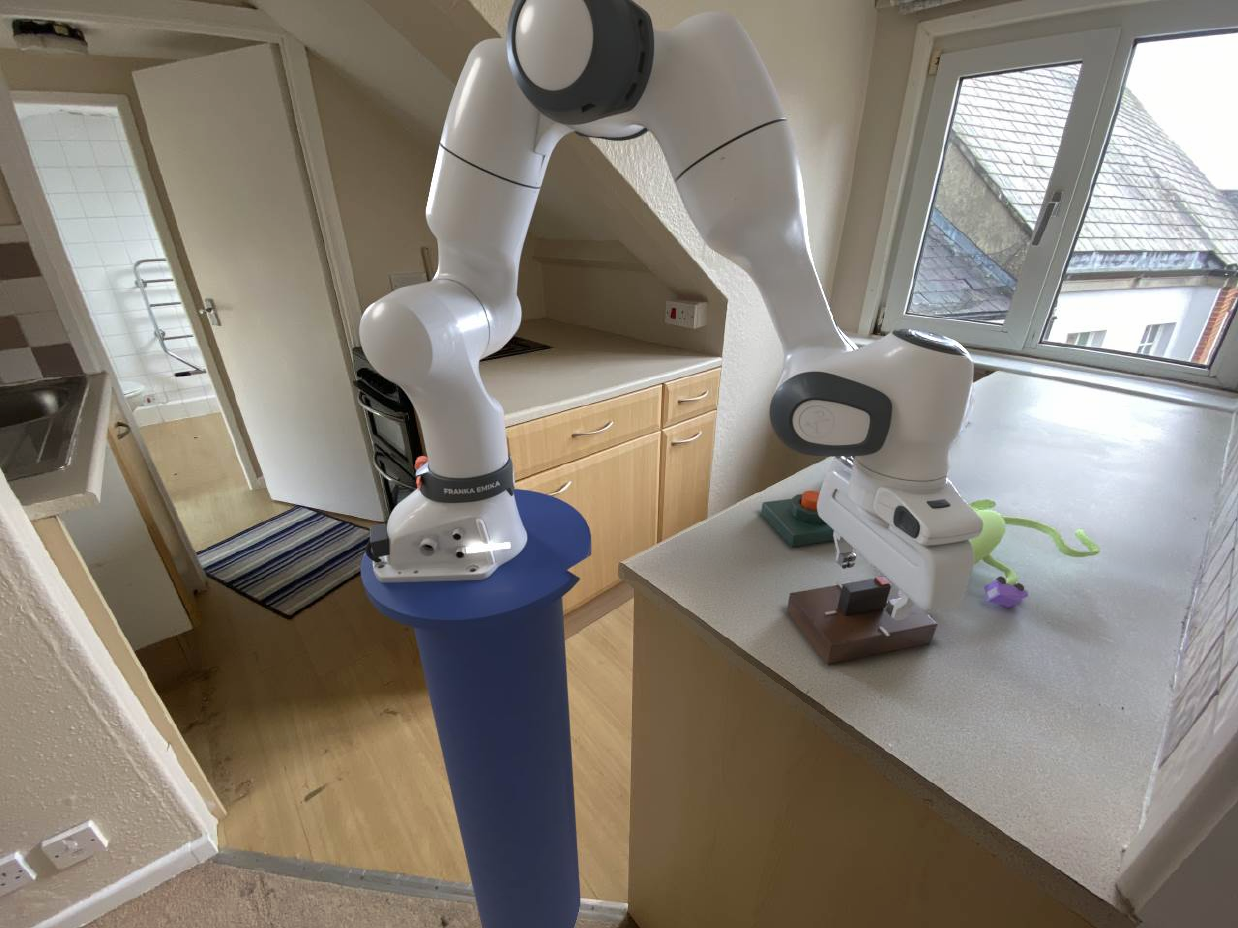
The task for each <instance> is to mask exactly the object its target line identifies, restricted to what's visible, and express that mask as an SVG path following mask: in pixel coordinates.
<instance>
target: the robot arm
mask: <svg viewBox="0 0 1238 928" xmlns="http://www.w3.org/2000/svg"><path fill="white" fill-rule="evenodd" d="M783 107H784V106H783V104H782V101H781V100H780V97H779V94H778V92H777V90H776V87H775V85H774V82H773V80H772V78H771V76H770V73H769V71H768V69H767V67H766V65H765V63H764V61H763V58H762V57H761V55H760V53H759V52H758V49H757V48H756V46H755V44H754V42H753V41H752V39H751V37H750V36H749V34H748V32H747V30H746V28H745V27H744V26H743V23H741V21H740V20H738V19H737V18H736V17H735V16H733V15H732V14H730V13H728V12H724V11H719V10H712V11H705V12H700V13H697V14H695V15H692V16H690V17H687V18H686V19H684V20H683V21H680V22H679V23H678V24H676V25H675V26H674V27H672V28H670V29H667V30H659V29H656V28H654V25H653V20H652V18H651V16H650V14H649V12H648V11H647V10H646V9H644V8H643V7H642V6H641V5H639V4H638V3H636V2H635V1H634V0H514V1H513V3H512V6H511V9H510V13H509V16H508V20H507V28H506V38H504V37H493V38H487V39H484V40H482V41H480V42H478V43H477V44H476V45H475V46H474V47H473V48H471V50H470V53H469V54H468V57H467V59H466V61H465V64H464V66H463V68H462V70H461V73H460V75H459V78H458V81H457V83H456V86H455V88H454V91H453V94H452V97H451V100H450V103H449V106H448V110H447V113H446V118H445V120H444V125H443V128H442V133H441V136H440V137H441V138H440V141H439V142H440V143H439V146H438V151H437V154H436V155H437V156H436V160H435V166H434V170H433V175H432V180H431V183H430V190H429V195H428V200H427V204H426V208H425V219H426V223H427V226H428V228H429V230H430V231H431V233H432V235H434V237H435V238H436V240H437V250H438V262H437V263H438V264H437V265H438V266H437V269H436V273H435V275H434V276H433V278H432V279H431V281H430V280H429V281H425V282H420V283H417V284H411V285H408V286H403V287H398V288H397V289H395V290H393V291H391V292H389V293H388V294H386V295H384V296H382V297H380V298H379V299H377V300H376V301H375V302H373V303H372V304H370V305H369V306H368V307H367V308H366V309H365V311H364V312H363V314H362V316H361V319H360V321H359V322H360V323H359V326H358V328H359V329H358V332H359V334H358V335H359V341H360V345H361V348H362V351H363V354H364V356H365V357H366V359H367V361H368V362H369V364H370V365H371V366H372V368H373V369H374V370H375V371H376V372H377V373H378V374H380V376H382V377H383V378H384V379H386V380H388V381H390V382H392V383H393V384H395V385H396V386H399V387H400V388H401V389H402V391H404V393H405V394H406V395H407V397H408V400H410V402H411V404H412V406H413V407H414V409H415V412H416V415H417V417H418V420H419V423H420V428H421V431H422V437H423V442H424V446H425V451H426V455H425V456H424V455H421V456H418V457H416V460H415V464H414V469H415V482H416V489H415V490H414V491H412V492H411V493H410V494H409V495H407V496H406V497H405V498H403V499H402V500H401V501H399V502H398V503H397V504H396V506H394V508H393V509H392V511H391V513H390V515H389V517H388V520H387V523H386V522H383V523H379V524H375V525H374V524H373V525H370V526H369V539H368V542H367V544H366V546H365V551H364V553H365V552H366V554H367V556H368V557H369V558H370V559H371V560H373V570H374V574H375V576H376V578H377V579H378V580H379V581H380V582H385V583H389V582H426V581H461V580H483V579H486V578H487V577H489V576H490V575H491V574H492V573H493V572H494V571H495V570H496V569H497V568H498V567H499V566H500V565H502V564H504V563H505V562H507V561H509V560H511V559H512V558H514V557H515V556H516V555H518V554H519V553H520V552H521V551H522V549H523V548H524V547H525V545H526V542H527V532H526V530H525V528H524V526H523V524H522V521H521V519H520V516H519V512H518V509H517V505H516V502H515V497H514V491H515V489H516V480H515V479H516V478H515V469H514V464H513V461H512V460H513V459H512V456H511V454H510V452H509V449H508V440H507V439H508V438H507V429H506V420H505V419H506V418H505V412H504V407H503V405H502V404H501V402H499V400H498V399H497V398H496V397H494V396H492V395H490V394H489V393H488V391H487V389H486V388H485V387H486V386H485V385H484V383H483V380H482V378H481V374H480V369H479V368H480V367H479V366H480V361H481V360H483V359H485V358H487V357H488V356H490V355H493V354H495V353H497V352H498V351H500V350H501V349H503V347H504V346H505V345H506V344H508V342H509V341H510V340H512V338H513V337H514V336H515V335H516V333H517V332H518V330H519V328H520V326H521V323H522V314H523V313H522V305H521V302H520V299H519V296H518V295H517V294H518V281H519V269H520V261H521V257H522V252H523V247H524V243H525V240H526V238H527V234H528V230H529V227H530V223H531V220H532V217H533V214H534V211H535V208H536V204H537V201H538V197H539V194H540V190H541V188H542V184H543V181H544V178H545V174H546V172H547V171H546V170H547V169H548V168H547V167H548V164H549V162H550V158H551V156H552V153H553V151H554V149H555V148H556V146H557V144H558V143H559V141H560V140H561V139H562V138H563V137H565V136H566V135H568V134H571V133H573V132H574V133H575V134H576V135H577V136H579V137H583V138H592V139H600V140H601V139H602V140H606V141H613V142H621V141H622V142H623V141H631V140H634V139H638V138H640V137H642V136H644V135H646V134H647V133H649V132H650V133H651V135H652V136H653V138H654V139H655V140H656V142H657V143H658V146H659V147H660V149H661V152H662V154H663V156H664V159H665V161H666V163H667V166H668V169H669V172H670V174H671V177H672V179H673V182H674V184H675V187H676V190H677V192H678V195H679V198H680V200H681V202H682V205H683V207H684V209H685V211H686V213H687V214H688V217H689V219H690V221H691V222H692V223H693V225H694V227H695V229H696V230H697V232H698V234H699V235H700V237H701V239H702V240H703V242H704V243H705V244H706V246H707V247H708V248H709V249H711V250H712V251H713V252H714V253H716V254H718V255H720V256H722V257H723V258H726V259H727V260H729V261H731V262H732V263H734V264H735V265H736V266H738V267H739V268H740V269H741V270H743V271H744V272H745V273H746V274H747V276H749V277H750V278H751V280H752V281H753V283H754V285H755V286H756V288H757V289H758V291H759V293H760V296H761V298H762V300H763V303H764V305H765V308H766V310H767V313H768V315H769V317H770V320H771V323H772V325H773V327H774V330H775V333H776V334H777V337H778V339H779V342H780V345H781V347H782V348H781V349H782V355H783V364H782V371H781V372H782V373H781V378H780V380H779V382H778V383H777V386H776V388H775V390H774V392H773V395H772V398H771V400H770V404H769V413H768V414H769V421H770V425H771V428H772V430H773V432H774V434H775V435H776V437H777V438H778V439H779V440H780V442H781V443H782V444H784V446H786V447H787V448H788V449H791V450H793V451H794V452H797V453H799V454H801V455H806V456H811V457H831V458H832V457H833V458H832V460H831V464H830V470H829V471H828V472H827V473H826V475H825V476H824V479H823V481H822V485H821V488H820V491H819V492H820V494H819V498H818V502H817V511H818V515H819V517H820V518H821V519H822V520H823V521H824V522H826V523H827V524H828V525H829V526H830V527H831V528H832V529H833V530H834V533H833V537H834V541H833V542H834V545H835V546H834V547H835V551H836V554H835V563H836V564H838V566H839V567H841V568H842V569H844V570H845V569H851V568H853V567H854V566H855V564H856V562H855V561H856V560H857V555H856V554H855V553H854V551H853V549H854V550H855V551H856V552H858V554H860V555H861V557H863V558H864V559H865V560H866V561H867V562H868V563H870V565H872V566H873V567H874V568H875V569H876V570H877V571H878V572H879V573H880V574H882V576H883V577H886V578H887V579H888V580H890V581H891V582H892V583H893V584H894V585H895V586H896V587H897V588H898V589H899V592H898V595H899V596H900V597H902V598H897V599H896V600H895V599H891V600H888V603H887V608H886V612H887V613H888V614H889V615H890V616H891V617H892V618H893V619H894V620H896V621H897V620H902V619H906V618H907V617H908V615H909V612H910V609H911V607H912V606H914V605H917V606H918V607H919V608H920V609H921V610H923V611H924V612H925V613H926V614H928V613H929V614H930V613H937V612H938V613H940V612H944V611H948V610H952V609H955V608H957V607H959V606H960V605H961V604H962V602H963V601H964V598H965V596H966V593H967V590H968V588H969V584H970V581H971V577H972V573H973V569H974V566H975V564H974V549H973V546H972V544H971V542H970V541H969V539H972V538H976V537H978V536H979V535H980V534H981V532H982V529H983V521H982V519H981V518H980V517H979V515H978V514H977V513H976V512H975V511H974V510H973V509H972V508H971V507H970V506H969V503H968V502H967V501H966V500H965V498H964V497H963V496H962V495H961V494H960V493H959V491H958V490H957V488H956V487H955V485H954V484H953V482H951V480H949V478H948V476H949V472H950V469H951V459H950V455H951V450H952V447H953V445H954V444H955V442H956V440H957V439H958V438H959V436H960V434H961V432H962V430H963V429H962V426H963V423H964V419H965V416H966V412H967V408H968V404H969V399H970V394H971V389H972V383H973V384H974V373H975V365H974V360H973V357H972V356H971V355H970V353H969V351H967V349H966V348H965V347H963V345H961V344H960V343H959V342H958V341H956V340H954V339H951V338H948V337H947V336H944V335H941V334H938V333H934V332H931V331H926V330H923V329H922V330H921V329H917V328H916V329H915V328H912V329H910V328H900V329H898V328H897V329H894V330H891V331H890V332H889V333H887V334H886V335H885V336H883V337H881V338H879V339H877V340H874V341H872V342H869V343H868V344H865V345H862V346H860V347H858V346H857V345H856V344H855V343H854V342H853V341H852V340H851V339H850V338H849V337H848V336H846V334H844V333H843V331H842V330H841V329H840V327H839V326H838V324H837V323H836V321H835V318H834V316H833V313H832V310H831V307H830V304H829V302H828V299H827V296H826V294H825V291H824V287H823V286H822V283H821V281H820V277H819V275H818V272H817V269H816V266H815V263H814V260H813V257H812V252H811V248H810V241H809V233H808V222H807V211H806V202H805V201H806V200H805V193H804V185H803V184H804V183H803V177H802V173H801V167H800V163H799V157H798V154H797V148H796V145H795V140H794V138H793V134H792V132H791V131H792V130H791V128H790V125H789V122H788V119H787V116H786V113H785V111H784V108H783ZM853 456H855V458H854V459H853ZM371 548H372V551H373V553H372V551H371Z"/></svg>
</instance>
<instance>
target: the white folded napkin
mask: <svg viewBox="0 0 1238 928" xmlns="http://www.w3.org/2000/svg"><path fill="white" fill-rule="evenodd" d="M975 401H976V395H975V385H974V382H973V383H972V389H971V394H970V399H969V404H968V408H967V412H966V416H965V419H964V423H963V426H962V430H965V429H966V427H967V426H968V425H967V424H968V423H969V421H970V419H971V415H972V411H973V408H974V405H975Z"/></svg>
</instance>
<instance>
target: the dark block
mask: <svg viewBox="0 0 1238 928" xmlns="http://www.w3.org/2000/svg"><path fill="white" fill-rule="evenodd" d="M884 577H885V576H884V575H882V576H877V577H875V579H874V578H870V579H863V580H857V581H851V582H852V583H851V582H847V583H842V584H843V586H842V590H841V594H840V598H839V602H838V608H839V609H840V610H841V611H842V612H843V613H844V614H845V615H850V614H855V613H861V612H866V611H871V610H877V609H882V608H885V606H886V603H887V599H888V596H889V592H890V589H891V584H890V583H889V582H888V581H887V580H886V579H885V578H884Z"/></svg>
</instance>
